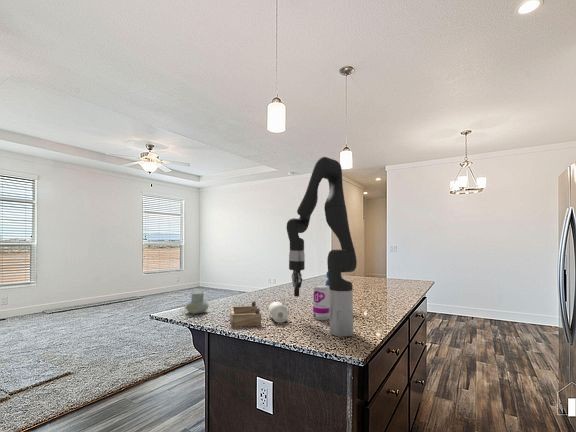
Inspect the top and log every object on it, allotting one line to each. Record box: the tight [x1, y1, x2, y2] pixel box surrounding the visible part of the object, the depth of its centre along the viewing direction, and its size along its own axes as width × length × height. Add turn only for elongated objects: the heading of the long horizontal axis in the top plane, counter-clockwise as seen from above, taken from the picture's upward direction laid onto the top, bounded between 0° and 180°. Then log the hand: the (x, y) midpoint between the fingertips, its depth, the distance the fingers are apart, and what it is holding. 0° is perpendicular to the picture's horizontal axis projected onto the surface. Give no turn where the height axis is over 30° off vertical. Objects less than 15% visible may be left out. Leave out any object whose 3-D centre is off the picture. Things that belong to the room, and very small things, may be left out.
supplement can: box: [312, 284, 330, 321], centre depth 150 cm, size 8×8×15 cm
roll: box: [268, 301, 289, 324], centre depth 147 cm, size 12×7×7 cm, turn 12°
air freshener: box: [185, 291, 209, 315], centre depth 161 cm, size 11×8×10 cm
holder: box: [229, 301, 262, 328], centre depth 144 cm, size 18×13×7 cm
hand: (296, 296), depth 150 cm, fingers closed
